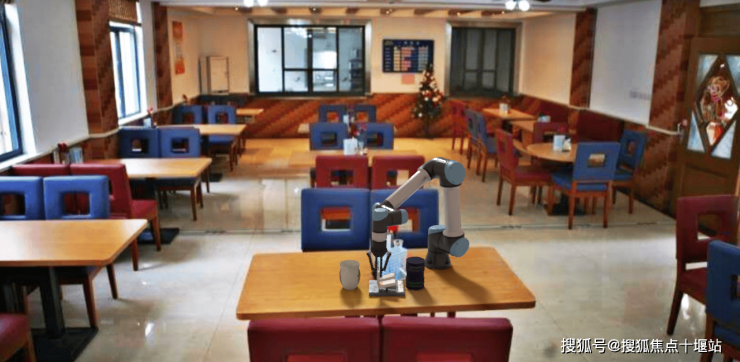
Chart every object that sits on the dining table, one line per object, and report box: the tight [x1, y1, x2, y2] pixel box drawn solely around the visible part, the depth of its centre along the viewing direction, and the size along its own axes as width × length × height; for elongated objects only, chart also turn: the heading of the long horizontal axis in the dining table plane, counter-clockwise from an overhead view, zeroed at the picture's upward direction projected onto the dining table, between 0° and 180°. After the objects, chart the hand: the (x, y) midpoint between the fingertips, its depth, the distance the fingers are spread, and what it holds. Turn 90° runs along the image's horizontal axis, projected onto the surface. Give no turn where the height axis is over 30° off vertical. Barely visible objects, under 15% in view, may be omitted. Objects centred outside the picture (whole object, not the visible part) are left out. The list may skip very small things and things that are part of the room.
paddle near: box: [378, 278, 396, 289], centre depth 291 cm, size 9×4×2 cm, turn 89°
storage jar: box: [405, 256, 426, 292], centre depth 298 cm, size 10×10×15 cm
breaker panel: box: [368, 279, 406, 297], centre depth 295 cm, size 18×15×4 cm
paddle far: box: [380, 272, 396, 282], centre depth 298 cm, size 9×4×2 cm, turn 89°
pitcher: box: [338, 259, 361, 291], centre depth 298 cm, size 11×18×14 cm, turn 1°
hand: (378, 283), depth 291 cm, fingers closed
